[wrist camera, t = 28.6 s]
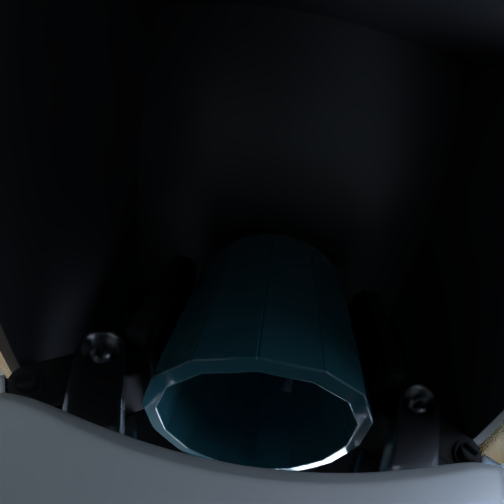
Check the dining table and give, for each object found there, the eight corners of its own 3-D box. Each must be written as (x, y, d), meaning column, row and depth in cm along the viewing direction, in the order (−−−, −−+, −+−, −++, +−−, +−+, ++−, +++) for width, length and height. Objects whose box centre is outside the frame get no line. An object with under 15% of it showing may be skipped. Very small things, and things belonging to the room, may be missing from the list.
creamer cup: (169, 284, 11) (103, 397, 6) (289, 200, 9) (291, 309, 4) (255, 369, 13) (239, 481, 8) (369, 314, 11) (402, 438, 6)
